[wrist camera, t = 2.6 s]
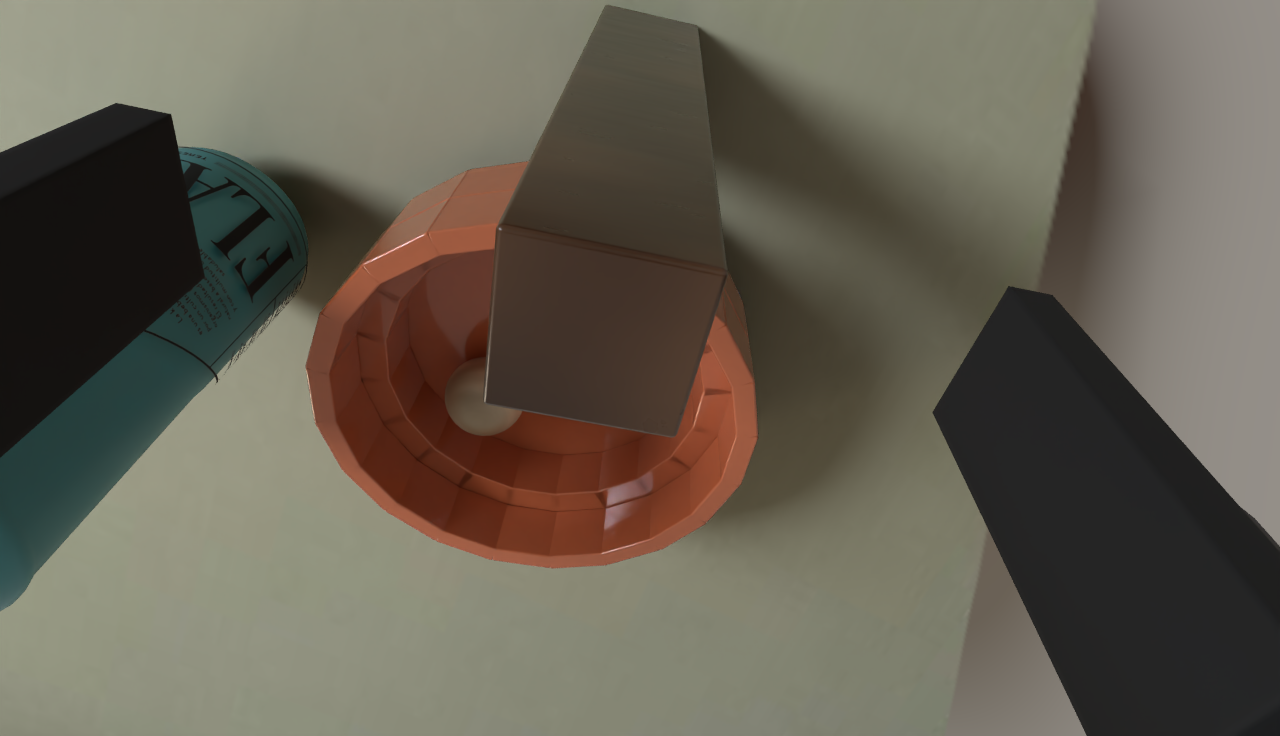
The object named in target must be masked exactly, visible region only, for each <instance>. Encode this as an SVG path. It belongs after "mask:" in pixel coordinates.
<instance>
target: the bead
mask: <svg viewBox="0 0 1280 736" xmlns="http://www.w3.org/2000/svg"><path fill="white" fill-rule="evenodd" d="M485 362H486V357H479V358H474V359H471V360H469V361H467V362H465V363H463V364H462V365H460V366H459V367H458V368H457V369H456V370H455V371H454V372H453V373H452V375H451V376H450V378H449V380H448V382H447V385H446V389H445V405H446V409H447V411H448V414H449V415H450V417H451V419H452V420H453V421H454V423H455V424H456V425H458V426H459V427H460V428H461V429H463V430H464V431H466V432H468V433H471V434H474V435H479V436H490V435H495V434H498V433H501V432H503V431H505V430H507V429H508V428H510V427H511V426H512V425H513V424H514V423H515V422H516V421H517V420H518V418H519V417H520V415H521V413H522V411H520V410H514V409H509V408H503V407H498V406H492V405H487V404H485V403H484V401H483V387H484V375H485Z"/></svg>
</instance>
